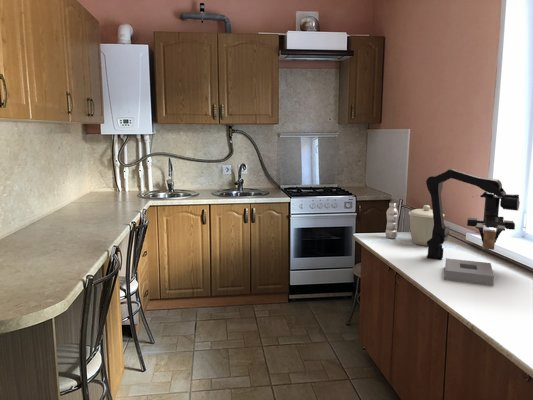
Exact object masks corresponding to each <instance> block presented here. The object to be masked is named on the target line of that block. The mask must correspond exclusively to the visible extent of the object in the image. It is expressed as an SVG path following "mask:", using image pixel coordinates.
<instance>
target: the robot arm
mask: <svg viewBox="0 0 533 400" xmlns="http://www.w3.org/2000/svg"><path fill="white" fill-rule="evenodd" d="M450 179H454V180H456V181H460V182H463V183H465V184H468V185H469V184H470V185H472V186H475V187H478V188H479V189H481V190H483V191H484V192H483V193H482V194H481V195H480V196H479V197H480V198H484V205H483V206H484V208H483V209H484V210H483V220H479V219H478V218H477V217H467V219H466V226H468V227H475V229H477V230H478V231H479V234H480V238H481V242H482V243H483V239H484V238H483V233H484V226H485V228H493V229H495V232H496V234H495V243H496V242H497V240H498V238H499V236H500V234H501V233H502V232H504V231H506V230H515V228H516V223H515V222H514V221H513V220H505V218H504V216H499V212H500V211H499V210H500V208H502V210H507V211H519V209H520V204H521V203H520V195H519V194H510V193H506V191H505V189H504V188H503V185H502V182H501V180H500V179H496V178H489V177H480V176H476V175H473V174H470V173H467V172H464V171H459V170H456V169H455V168H454V169H453V168H449V169H447V170H446V171H444V172H441V173H440V174H437V175H432V176H429V177H427V179H426V181H425V184H426V187H427V191H428V193H429V194H430V198H431V210H433V220H434V227H433V231H432V238H431V239H430V240H428V241H427V245H428V246H427V247H428V248H427V256H426V258H427V259H431V260H440V261H441V260H443V259H442V258H444V248H443V244H444V243H446V241H447V240H448V239H449V236H451V234H450V231H449V230H450V226H446V225H445V222H444V217H443V214H444V212H443V211H444V210H443V201H442V190H443V186H444V185H443V183H444V182H446V181H448V180H450Z"/></svg>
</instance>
